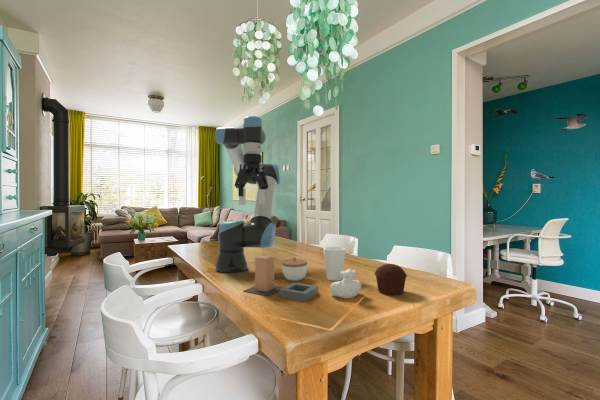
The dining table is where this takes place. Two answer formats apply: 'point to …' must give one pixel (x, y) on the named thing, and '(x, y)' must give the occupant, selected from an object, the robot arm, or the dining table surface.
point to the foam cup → (334, 262)
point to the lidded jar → (294, 269)
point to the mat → (268, 293)
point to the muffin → (390, 279)
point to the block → (264, 273)
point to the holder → (299, 291)
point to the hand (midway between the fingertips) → (252, 204)
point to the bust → (346, 285)
